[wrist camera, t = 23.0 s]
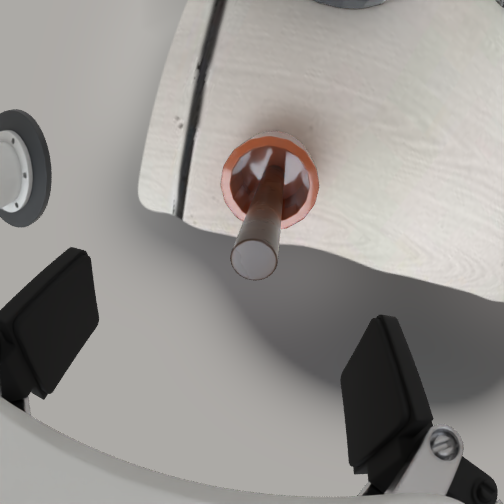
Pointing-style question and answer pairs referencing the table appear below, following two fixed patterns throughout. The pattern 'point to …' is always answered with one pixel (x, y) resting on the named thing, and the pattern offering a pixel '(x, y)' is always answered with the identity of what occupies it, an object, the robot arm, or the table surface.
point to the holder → (253, 165)
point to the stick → (261, 229)
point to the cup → (501, 2)
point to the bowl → (351, 3)
